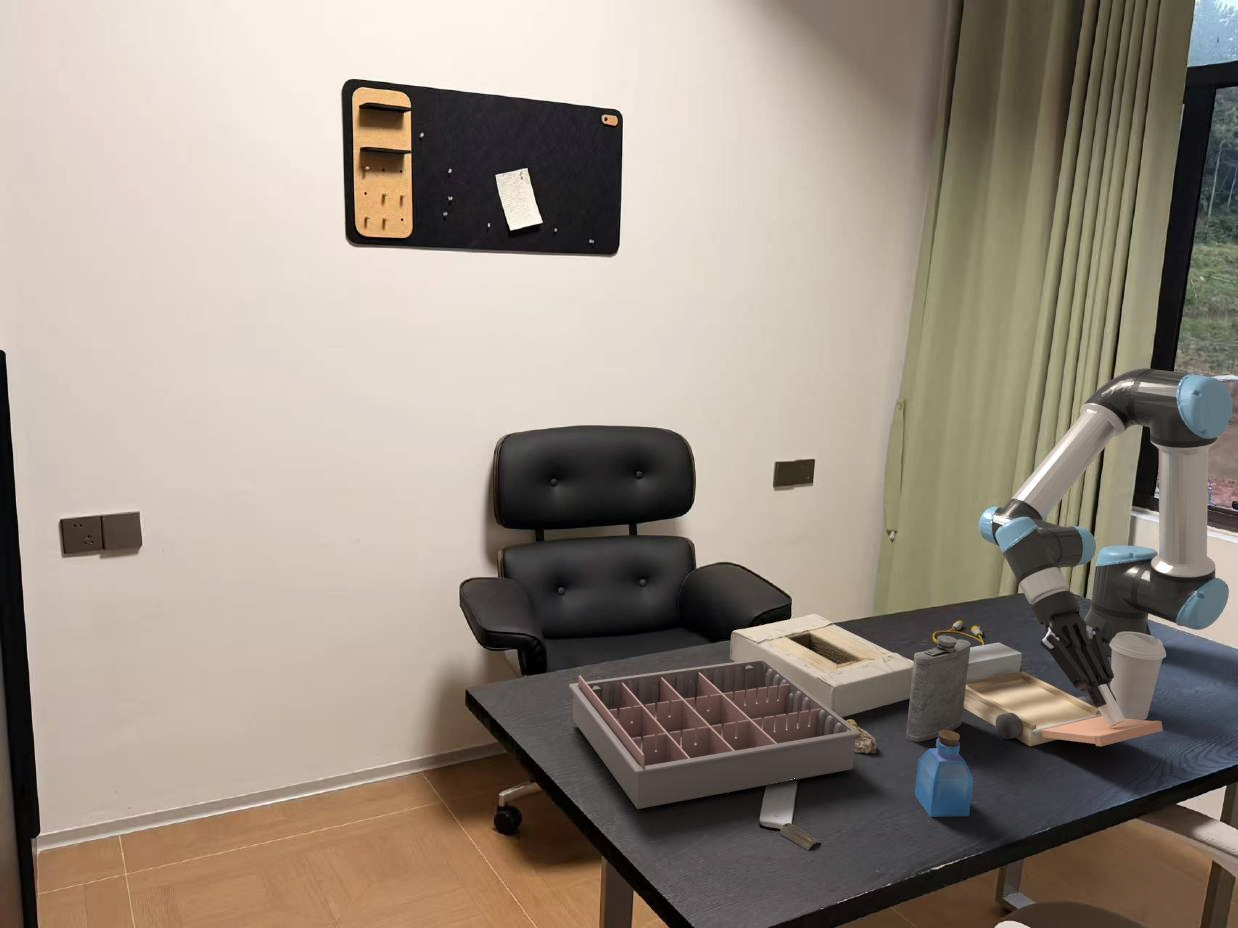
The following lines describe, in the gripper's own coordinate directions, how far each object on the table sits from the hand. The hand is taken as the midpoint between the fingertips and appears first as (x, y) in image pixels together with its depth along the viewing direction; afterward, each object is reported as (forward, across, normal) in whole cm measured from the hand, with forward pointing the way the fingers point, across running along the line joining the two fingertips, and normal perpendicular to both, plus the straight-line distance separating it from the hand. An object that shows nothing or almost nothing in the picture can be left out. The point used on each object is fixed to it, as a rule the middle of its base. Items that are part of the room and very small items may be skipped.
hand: (1116, 723), depth 165 cm
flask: (-9, +20, -20) cm, 30 cm away
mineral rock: (-10, +37, -22) cm, 44 cm away
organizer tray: (-15, +62, -27) cm, 70 cm away
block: (+5, +62, -7) cm, 63 cm away
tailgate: (-3, -1, -10) cm, 11 cm away
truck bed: (-10, 0, -21) cm, 23 cm away
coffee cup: (-4, -21, -15) cm, 26 cm away
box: (-27, +26, -40) cm, 55 cm away
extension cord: (-32, -17, -44) cm, 57 cm away
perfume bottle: (+5, +36, -6) cm, 37 cm away
